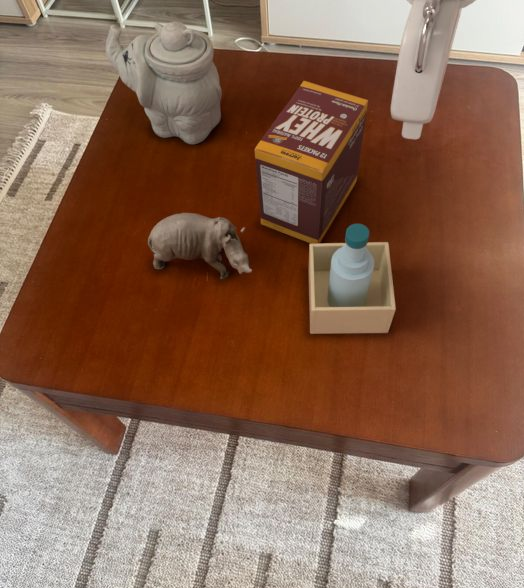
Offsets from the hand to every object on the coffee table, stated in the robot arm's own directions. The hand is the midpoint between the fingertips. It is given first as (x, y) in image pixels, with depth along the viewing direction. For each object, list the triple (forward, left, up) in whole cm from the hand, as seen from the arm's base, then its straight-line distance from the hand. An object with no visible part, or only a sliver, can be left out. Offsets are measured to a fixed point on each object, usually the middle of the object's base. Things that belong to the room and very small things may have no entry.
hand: (420, 104), depth 53 cm
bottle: (+5, +5, -29) cm, 29 cm away
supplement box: (+10, -14, -29) cm, 34 cm away
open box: (+5, +5, -29) cm, 30 cm away
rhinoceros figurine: (+26, -2, -29) cm, 39 cm away
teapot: (+34, -34, -29) cm, 56 cm away
